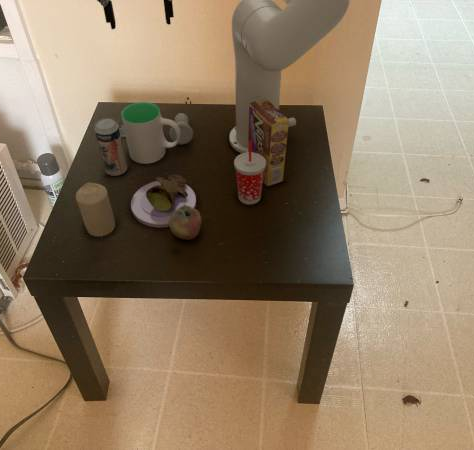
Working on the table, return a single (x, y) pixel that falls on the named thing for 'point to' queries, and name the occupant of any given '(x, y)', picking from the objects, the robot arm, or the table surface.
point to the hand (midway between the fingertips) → (141, 23)
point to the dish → (153, 216)
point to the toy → (166, 192)
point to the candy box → (268, 138)
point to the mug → (146, 132)
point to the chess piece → (182, 129)
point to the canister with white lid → (111, 146)
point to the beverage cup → (249, 175)
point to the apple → (185, 222)
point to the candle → (95, 209)
